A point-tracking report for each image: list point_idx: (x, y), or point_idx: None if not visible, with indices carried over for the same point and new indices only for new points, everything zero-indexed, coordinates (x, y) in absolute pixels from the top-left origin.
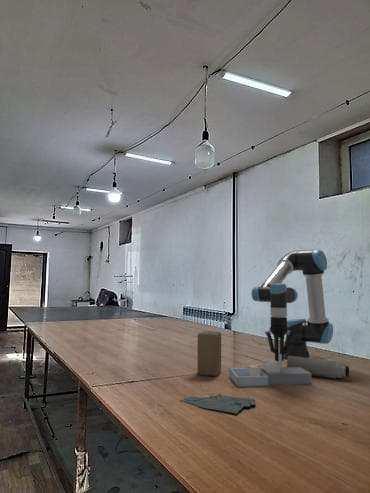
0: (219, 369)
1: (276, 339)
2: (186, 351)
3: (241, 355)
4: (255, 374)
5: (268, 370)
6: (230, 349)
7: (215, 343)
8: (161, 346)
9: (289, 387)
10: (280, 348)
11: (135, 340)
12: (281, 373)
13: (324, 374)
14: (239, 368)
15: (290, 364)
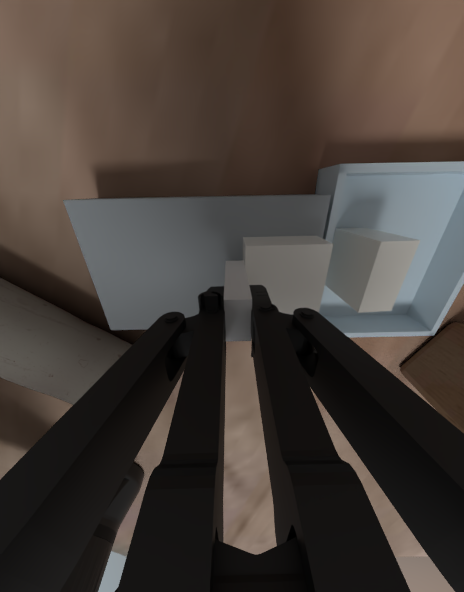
0: (433, 359)
1: (328, 452)
2: None
3: (249, 489)
4: (377, 233)
5: (315, 237)
6: (256, 519)
7: None
8: (398, 531)
9: (225, 135)
10: (224, 355)
11: (422, 554)
12: (244, 211)
13: (16, 287)
14: (392, 332)
15: None
